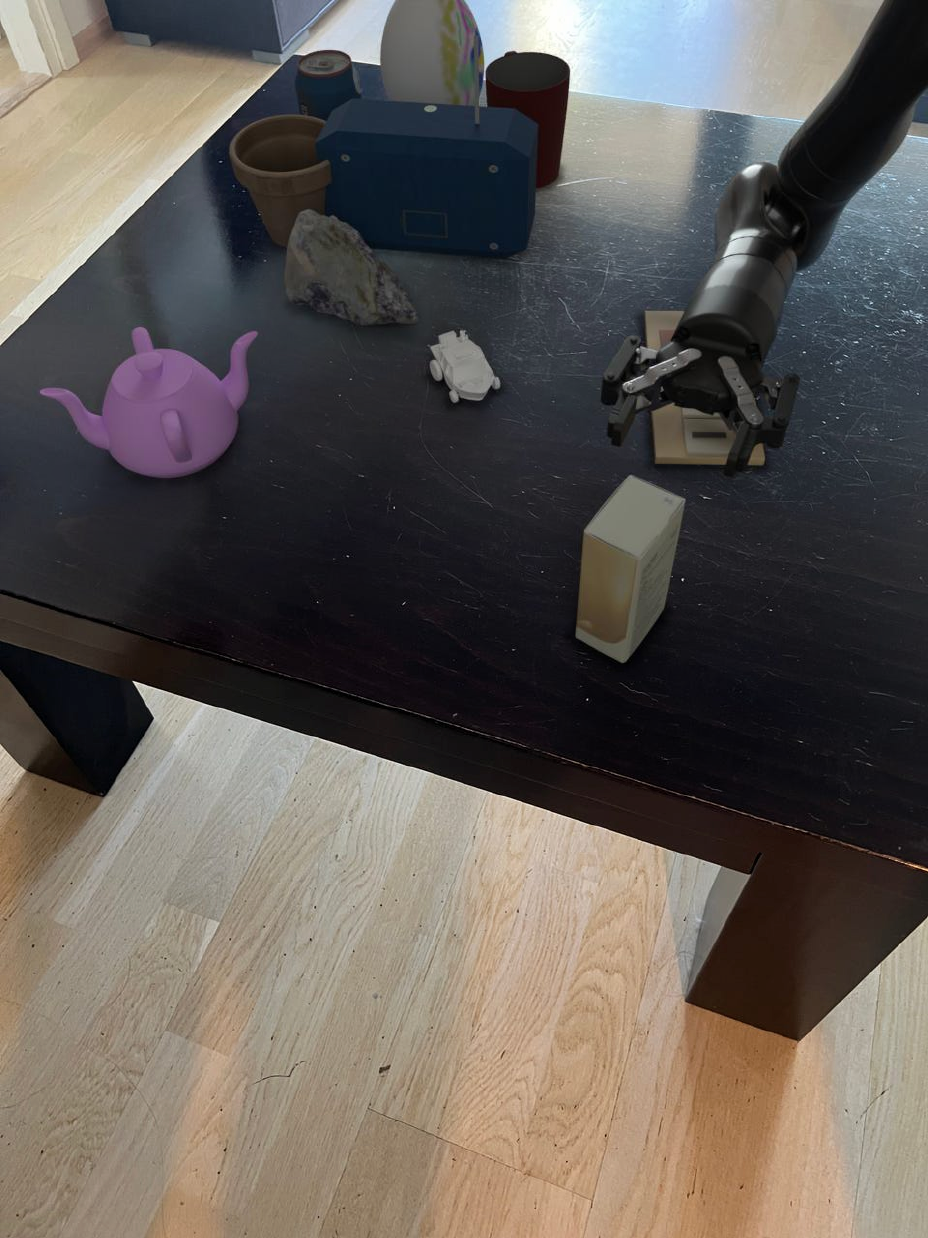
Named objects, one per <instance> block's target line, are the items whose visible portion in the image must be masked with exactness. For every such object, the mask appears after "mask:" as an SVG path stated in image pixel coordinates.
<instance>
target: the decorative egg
mask: <svg viewBox="0 0 928 1238" xmlns="http://www.w3.org/2000/svg"><path fill="white" fill-rule="evenodd" d="M474 36H478V44H479V97H480V96H481V93H482V90H483V85H484V80H485V79H484V78H485V54H484V45H483V40H482V36H481V33H480V30H479V27H478V24H477V21H476V19H475V17H474V14H473V12H472V10H471V9H470V7H469V5H468V3H467V2H466V0H394V2H393V3H392V5H391V7H390V9H389V11H388V14H387V17H386V20H385V23H384V25H383V30H382V35H381V40H380V53H379V63H380V75H381V80H382V81H381V82H382V85H383V90H384V92H385V94H386V98H387V101H402V102H417V103H433V104H449V105H465V106H475V81H474Z"/></svg>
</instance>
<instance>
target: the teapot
mask: <svg viewBox="0 0 928 1238" xmlns="http://www.w3.org/2000/svg"><path fill="white" fill-rule="evenodd" d="M257 336H258V331H256V330H253V331H250V332H247V333H245V334H244V335H241V336H240V337H239V338H237V339H236V340H235V342H234V343H233V345H232V347H231V350H230V368H229V371H228V372H227V374H226V376H224V378H222V379H221V380H220V379H219V378H218V376H217V375H216V374H214V372H212V371H211V370H210V369H209V368H208V367H206V366H205V365H203V364H202V363H200V362H199V361H198V360H196V359H195V358H193V357H192V356H190V355H188V354H186V353H184V352H182V351H179V350H176V349H172V348H171V349H170V348H154V345H153V341H152V339H151V336H150V334H149V331H148V330H147V329H146V328H145V327H143V326H138V327H135V328H134V329H132V330H131V339H132V344H133V348H134V351H135V354H134V355H132V356H130V357H129V358H128V357H127V359H125V360H124V361H123V362H122V363H121V364H120V365H118V366H117V367H116V369H115V370H114V372H113V374H112V375H111V378H110V381H109V383H108V385H107V389H106V393H105V396H104V399H103V404H102V411H101V415H98V414H95V413H92V412H90V411H88V410H87V408H86V407H85V405H83V402H82V401H81V400H80V398H79V397H78V395H76V394H75V393H74V392H72V391H70V390H69V389H66V388H62V387H45V388H42V389H40V390H39V394H40V395H42V396H44V397H48V398H50V399H53V400H56V401H57V402H59V403H60V404H62V405H63V407H65V408H66V410H67V412H68V413H69V415H70V416H71V419H72V421H73V423H74V425H75V427H76V429H77V431H78V432H79V433H80V434H81V436H82V437H83V438H84V439H85V440H86V441H87V442H88V443H90V444H91V445H93V446H95V447H97V448H100V449H103V450H106V451H108V452H109V453H110V455H111V456H112V458H113V459H114V460H115V461H116V462H117V463H118V464H120V465H121V466H122V467H123V468H124V469H127V470H129V471H130V472H134V473H136V474H139V475H142V476H145V477H150V478H156V479H158V478H159V479H175V478H181V477H186V476H190V475H192V474H194V473H195V474H196V473H198V472H200V471H202V470H204V469H206V468H208V467H209V466H211V465H212V464H213V463H215V462H216V461H217V460H218V459H219V458H220V457H221V456H222V455H224V453H225V452H226V451H227V449H228V448H229V447H230V445H231V444H232V442H233V440H234V439H235V436H236V434H237V431H238V427H239V413H238V411H239V410H240V408H241V407H242V406H243V405H244V403H245V402H246V399H247V398H248V394H249V389H250V387H249V386H250V382H249V381H250V380H249V374H248V368H247V353H248V350H249V347H250V346H251V344H252V342H253V341H254V340H255V339H257Z"/></svg>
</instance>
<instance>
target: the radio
mask: <svg viewBox="0 0 928 1238" xmlns="http://www.w3.org/2000/svg"><path fill="white" fill-rule="evenodd" d="M474 81H475V106H465V105H449V104H433V103H417V102H402V101H389V100H386V99H371V98H370V99H368V98H362V99H354V98H353V99H351V100H349V101H348V102H346V103H344V104H343V105H341V106H339V107H338V108H336V109H334V110H333V111H332V112H331V114H330V116H329V118H328V119H327V121H326V123H325V125H324V127H323V129H322V131H321V133H320V135H319V137H318V138H317V140H316V142H315V146H316V153H317V160H318V164H319V163H321V162H323V161H325V160H328V161H329V162H330V169H331V183H330V184H329V185H327V186H326V194H325V214H326V216H327V217H330V216H332V215H333V216H335V217H337V218H338V220H339V221H341V222H344V223H347V224H348V225H350V226H351V227H353V228H354V229H355V230H357V231H358V232H359V233H360V235H361V237H362V239H363V241H364V242H365V243H366V244H367V246H369V248H370V249H374V250H375V249H376V250H388V251H397V252H398V251H400V252H409V253H424V254H436V255H447V256H458V257H459V256H460V257H473V258H482V259H483V258H486V259H494V260H495V259H497V260H506V259H507V258H510V257H512V256H514V255H517V254H519V253H521V252H523V251H526V250H527V249H528V245H529V241H530V236H531V232H532V228H533V224H534V221H535V215H536V199H537V196H536V195H537V194H536V193H537V188H536V172H537V145H538V124H537V123H536V122H534V121H533V120H531V119H530V118H528V117H527V116H525V115H524V114H522V113H521V112H519V111H518V110H516V109H513V108H497V107H487V106H481V105H480V96H479V44H478V36H474Z"/></svg>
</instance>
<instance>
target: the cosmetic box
mask: <svg viewBox="0 0 928 1238" xmlns="http://www.w3.org/2000/svg"><path fill="white" fill-rule="evenodd" d="M685 505H686V498H684V497H682V496H680V495H678V494H675V493H673V492H671V491H669V490H667V489H664V488H663V487H660V486H658V485H656V484H654V483H651V482H649V481H647V480H644V479H642V478H640V477H637V476H635V475H633V474H630V475H628V476H627V477H626V478H625V479H624V480H623V481H622V482H621V483H620V484H619V486H618V487H617V488H616V489H615V490H614V491H613V493H612V494H611V495H610V496H609V497H608V499H607V500H606V501H605V502H604V503H603V505H602V506H601V507H600V508H599V510H598V511H597V512H596V514H595V515H594V516H593V518H592V519H591V520H590V521H589V523H588V524H587V526H586V527H585V528H584V529H583V536H582V549H581V559H580V561H581V564H580V573H579V577H580V578H579V588H578V599H577V601H578V602H577V612H576V613H577V614H576V624H575V625H576V626H575V638H576V639H577V640H579V641H581V642H582V643H585V644H586V645H588V646H590V647H591V648H594V649H595V650H597V651H598V652H600V653H602V654H604V655H606V656H608V657H610V658H612V659H613V660H614V661H615V660H616V661H617V662H619V663H621V664H624V663H626V662H627V661H628V660H629V658H630V657H631V656H633V653H634V652H635V651H636V649H638V647H639V646H640V644H641V643H642V641H643V640H644V639H645V637H646V636H647V635H648V633H649V632H650V630H651V629H652V627H653V626H654V624H655V623H656V622H657V620H658V619H659V617H660V615H661V614H662V612H663V611H664V609H665V607H666V601H667V597H668V592H669V586H670V581H671V576H672V571H673V567H674V566H673V565H674V560H675V556H676V550H677V545H678V542H679V536H680V531H681V526H682V521H683V516H684V512H685V511H684V510H685Z"/></svg>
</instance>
